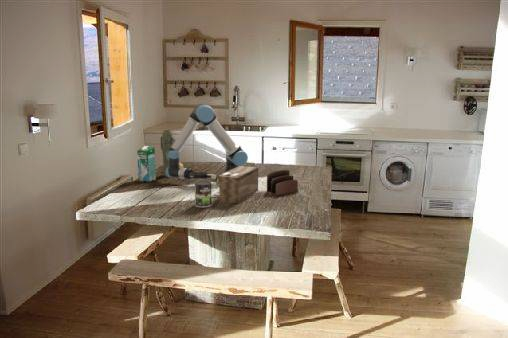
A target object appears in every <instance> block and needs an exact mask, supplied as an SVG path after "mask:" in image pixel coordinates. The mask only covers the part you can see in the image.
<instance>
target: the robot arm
mask: <svg viewBox="0 0 508 338" xmlns="http://www.w3.org/2000/svg"><path fill="white" fill-rule="evenodd" d="M217 118H218V116H217V114H215V112H214V109H213V108H212V107H211V106H210V105H207V104H204V103H199V104H197V105H195V107H194V108H193V109H192V111H191V113H190V115H189V116H188V120H187V121H186V123H185V124H184V126H183V127H182V129H181V131H180V132H179V134H178V135H177V137H176V138H175V141H174V143H173V144H172V146H171V148H170V149H169V150H168V151H167V152H166V158H167V159H168V160H169V167H167V168H166V175H167V176H168V177H167V178H174V179H175V178H176V179H182V180H185V179H186V180H192V179H205V180H207V179H212V180H217V174H212V173H211V174H210V173H209V172H204V171H200V170H199V171H196V170H195V171H193V169H192V168H186V167H183V168H179V163H180V153H181V150H182V149H183V147H184V146H185V145H186V144H187V141H188V140H189V138H190V137H191V135H192V134H193V132H194V131H195V130H196V128H197V126H198V125H201V124H202V125H203V127H205V128H208V130H209V131H210V133H212V135H213V136H214V137H215V139H216V140H217V141H218V142H219V144H220V145H221V146H222V147H223V149H224V150H225V167H224V171H223V173H225V172H227V171H229V170H232V169H234V168H236V167H238V166H245V165H246V164H247V163H248V159H249V156H248V153H247V152H246V151H245V150H243V148H242V146H241V145H239V144H237V143H235V141H233V139H232V137H231V136H230V135H229V134H228V132H227V131H226V130H225V129H224V127H223V126H222V125H221V124H220V122H219V121H218V119H217Z"/></svg>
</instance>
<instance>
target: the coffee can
mask: <svg viewBox="0 0 508 338" xmlns="http://www.w3.org/2000/svg"><path fill="white" fill-rule="evenodd" d="M194 206H195V207H196V208H202V209H203V208H209V207H212V182H211V181H210V180H199V181H195V182H194Z"/></svg>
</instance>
